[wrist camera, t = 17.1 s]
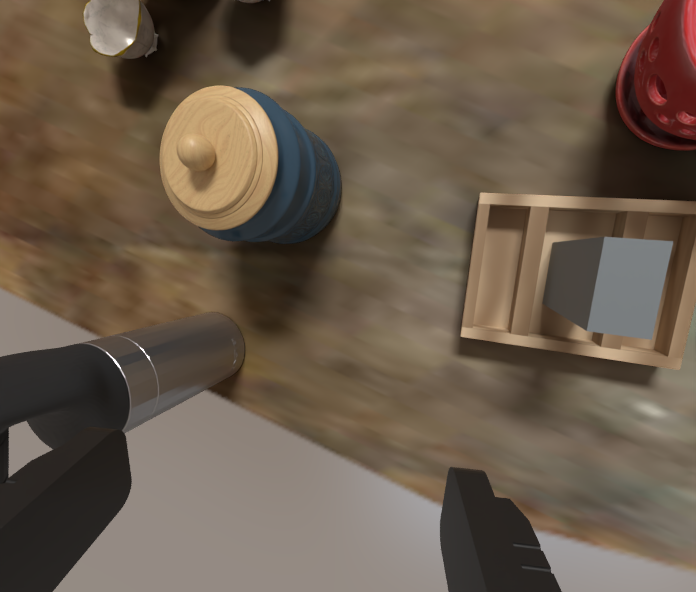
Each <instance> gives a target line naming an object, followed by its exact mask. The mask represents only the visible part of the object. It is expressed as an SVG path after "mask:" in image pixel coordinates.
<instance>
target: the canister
mask: <svg viewBox="0 0 696 592" xmlns="http://www.w3.org/2000/svg"><path fill="white" fill-rule="evenodd" d="M160 170H161V177H162V181H163V184H164V188H165V190H166V193H167V195H168V197H169V199H170V201H171V202H172V204H173V205H174V207H175V208H176V209H177V211H178V212H179V213H180V214H181V215H182V216H183V217H184V218H186V219H187V220H188V221H190V222H191V223H193V224H195V225H197V226H198V227H199V228H200V229H202V230H203V231H205V232H206V233H208V234H209V235H211V236H213V237H216V238H218V239H222V240H226V241H248V242H264V241H270V242H274V243H280V244H293V243H298V242H302V241H305V240H307V239H309V238H311V237H313V236H315V235H317V234H318V233H319V232H321V231H322V230H323V229H324V228H325V227H326V226H327V225H328V224H329V222H330V221H331V220H332V218H333V216H334V215H335V213H336V210H337V208H338V205H339V202H340V197H341V188H342V184H341V175H340V171H339V167H338V165H337V162H336V160H335V158H334V155H333V154H332V152H331V150H330V149H329V147H328V146H327V145H326V144H325V143H324V142H323V141H322V140H321V139H320V138H319V137H318V136H317V135H315V134H314V133H313V132H311V131H309V130H307V129H305V128H304V127H303V126H302V125H301V124H300V123H299V121H298V120H297V119H296V118H295V117H293V116H292V115H291V114H290V113H288V112H287V111H285V110H283V109H282V108H281V107H280V106H279V105H278V104H277V103H276V102H275V101H274V100H273V99H271V98H270V97H268V96H267V95H265V94H263V93H261V92H259V91H256V90H253V89H249V88H240V87H236V88H233V87H229V86H211V87H207V88H203V89H201V90H199V91H196V92H195V93H193V94H191V95H190V96H189V97H187V98H186V99H185V100H184V101H183V102H182V103H181V104H180V105H179V106H178V107H177V108H176V110H175V111H174V113H173V114H172V116H171V118H170V119H169V121H168V123H167V126H166V128H165V131H164V134H163V138H162V142H161V148H160Z"/></svg>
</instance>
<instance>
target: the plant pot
mask: <svg viewBox="0 0 696 592" xmlns="http://www.w3.org/2000/svg"><path fill="white" fill-rule="evenodd" d="M616 102H617V107H618V110H619V113H620V116H621V118H622V120H623V121H624V123H625V124H626V126H627V127H628V128H629V129H630V130H631V131H632V132H633V133H634V134H635V135H636V136H637V137H639V138H640V139H642V140H643V141H645V142H647V143H649V144H651V145H654V146H657V147H661V148H665V149H671V150H696V0H664V1H663V3H662V5H661V6H660V8H659V9H658V11H657V13H656V15H655V16H654V18H653V20H652V22H651V24H650V25H649V26H648V27H646V28H645V29H644V30H643V31H642V32H641V33H640V35H639V36H638V37H637V38H636V39H635V41H634V42H633V43H632V45H631V46H630V48H629V50H628V51H627V53H626V55H625V57H624V59H623V61H622V64H621V66H620V69H619V73H618V77H617V82H616Z"/></svg>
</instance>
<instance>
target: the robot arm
mask: <svg viewBox="0 0 696 592" xmlns="http://www.w3.org/2000/svg"><path fill="white" fill-rule="evenodd" d="M244 353H245V346H244V341H243V337H242V335H241V332H240V330H239V329H238V327H237V326H236V324H235V323H234V322H233V321H232V320H231V319H229V318H228V317H226V316H225V315H222V314H220V313H215V312H210V313H204V314H200V315H196V316H192V317H187V318H183V319H179V320H174V321H170V322H166V323H162V324H158V325H154V326H149V327H145V328H141V329H137V330H133V331H129V332H124V333H120V334H116V335H112V336H108V337H104V338H100V339H96V340H92V341H88V342H83V343H79V344H74V345H70V346H66V347H61V348H54V349H46V350H37V351H30V352H24V353H18V354H12V355H7V356H2V357H0V592H53V590H54V589H55V588H56V587H57V586H58V584H59V583H60V582H61V581H62V580H63V578H64V577H65V576H66V574H68V572H69V571H70V570H71V569H72V568H73V566H74V565H75V564H76V563H77V561H78V560H79V559H80V558H81V557H82V555H83V554H84V553H85V552H86V551H87V549H88V548H89V547H90V546H91V544H92V543H93V542H94V541H95V540H96V539H97V537H98V536H99V535H100V534H101V533H102V531H103V530H104V529H105V528H106V526H107V525H108V524H109V523H110V522H111V521H112V519H113V518H114V517H115V516H116V515H117V513H118V512H119V511H120V510H121V508H122V507H123V505H124V504H125V502H126V500H127V498H128V495H129V493H130V489H131V482H132V481H131V472H130V465H129V457H128V449H127V443H126V436H125V434H124V433H126V432H128V431H130V430H132V429H134V428H135V427H137V426H139V425H141V424H143V423H144V422H146V421H148V420H150V419H152V418H154V417H156V416H157V415H159V414H161V413H163V412H165V411H167V410H169V409H171V408H172V407H174V406H176V405H178V404H180V403H182V402H184V401H185V400H187V399H189V398H191V397H193V396H195V395H196V394H198V393H200V392H202V391H204V390H206V389H208V388H210V387H212V386H213V385H215V384H217V383H219V382H221V381H223V380H224V379H226V378H228V377H230V376H232V375H233V374H235V373H236V372H237V371H238V369H239V368H240V366H241V365H242V362H243V359H244ZM24 421H27V422H28V424H29V426H30V427H31V429H32V430H33V432H34V433H35V434H36V435H37V436H38V437H39V439H40V440H42V441H43V442H44V443H45V444H46V445H48V446H49V447H51V448H52V449H54V450H52V451H50V452H48V453H46V454H44V455H42V456H40V457H38V458H36V459H34V460H32V461H30V462H29V463H28V464H27V465H25V466H24V467H23V468H21V469H20V470H19V471H17V472H16V473H15V474H13V475H12V476H11V477H9V478H8V468H9V466H8V465H9V464H8V463H9V462H8V461H9V459H8V458H9V456H8V455H9V453H8V452H9V448H8V446H9V441H8V438H9V437H8V436H9V433H8V432H9V431H8V429H9V427H11V426H12V425H14V424H18V423H20V422H24ZM440 542H441V550H442V556H443V562H444V567H445V573H446V579H447V584H448V591H449V592H561V589H560V587H559V585H558V583H557V581H556V578H555V576H554V574H552V573H551V567H550V565H549V563H548V561H547V559H546V557H545V555H544V553H543V551H541V548H540V544H539V541H538V539H537V537H536V535H535V533H534V531H533V528H532V526H531V524H530V522H529V520H528V519H527V518H526V517H525V516H524V514H523V513H522V512H521V511H520V510H519V509H518V508H517V507H516V505H515V504H514V503H513V502H512V501H511V500H510V499H507V498H498V497H495V496H494V493H493V490H492V488H491V485H490V483H489V480H488V477H487V475H486V473H485V472H484V471H482V470H473V469H464V468H455V467H450V469H449V471H448V476H447V482H446V488H445V494H444V500H443V507H442V513H441V520H440Z"/></svg>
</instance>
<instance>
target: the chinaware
mask: <svg viewBox="0 0 696 592" xmlns="http://www.w3.org/2000/svg"><path fill="white" fill-rule="evenodd" d="M239 1H241V2H245V3H257V2H260V1H262V0H239ZM268 1H269V2H270V0H268ZM83 19H84V24H85V26H86V28H87V30H88V32H89V34H90V35H91V36H90V44H91V46H92V49H93V50H94V51H95V52H96V53H99V54H101V55H105V56H111V57H122V58H127V59H134V58H139V57H141V56H143V55H145V56H146V57H147V55H148V54H150V53H152V52H153V51H157V49H156V46H157V37H158V34H156V33H155V32H154V25H153V21H152V18H151V16H150V14H149V12H148V10H147V9H146V7H145V6H144V4H143V3H142V2H141V1H140V0H90V1H89V2H88V3H87V4H86V5H85V8H84V11H83Z"/></svg>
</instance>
